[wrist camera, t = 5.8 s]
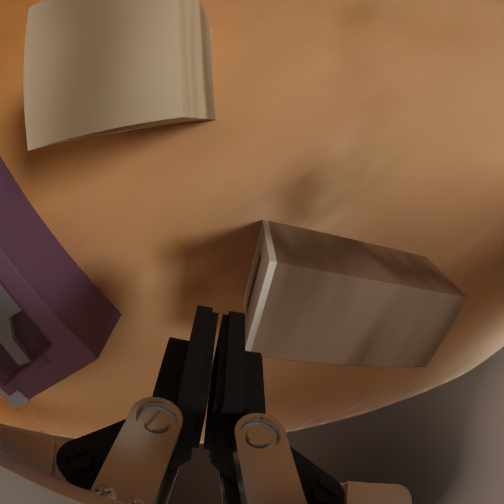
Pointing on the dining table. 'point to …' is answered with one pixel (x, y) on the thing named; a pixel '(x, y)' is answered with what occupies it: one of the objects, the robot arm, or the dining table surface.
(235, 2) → the dining table surface
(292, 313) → the wooden block
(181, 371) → the robot arm
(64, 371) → the book
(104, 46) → the oak block
